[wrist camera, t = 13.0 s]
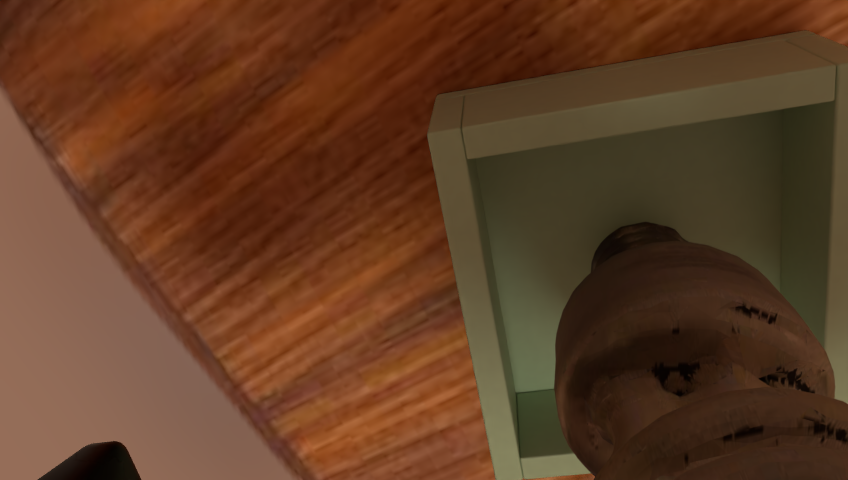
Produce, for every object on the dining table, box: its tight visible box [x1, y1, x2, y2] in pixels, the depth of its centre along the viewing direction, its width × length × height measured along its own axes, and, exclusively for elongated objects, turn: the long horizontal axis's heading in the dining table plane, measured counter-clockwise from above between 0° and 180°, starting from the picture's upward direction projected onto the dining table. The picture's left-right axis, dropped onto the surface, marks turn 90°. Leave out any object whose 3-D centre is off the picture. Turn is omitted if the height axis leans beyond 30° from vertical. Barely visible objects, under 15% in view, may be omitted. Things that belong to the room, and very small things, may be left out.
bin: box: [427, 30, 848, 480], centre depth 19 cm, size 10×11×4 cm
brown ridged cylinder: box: [554, 222, 848, 480], centre depth 14 cm, size 6×6×15 cm
